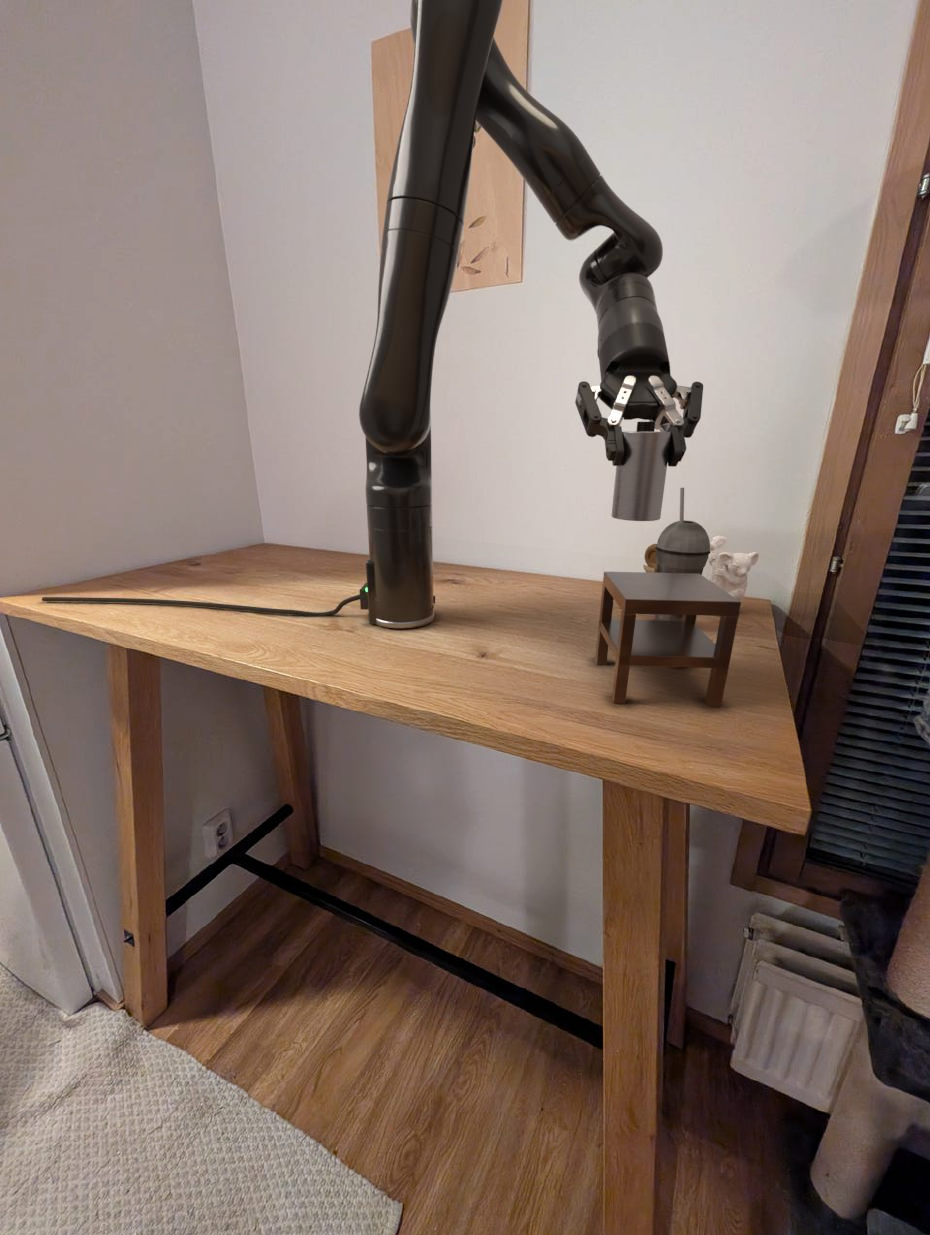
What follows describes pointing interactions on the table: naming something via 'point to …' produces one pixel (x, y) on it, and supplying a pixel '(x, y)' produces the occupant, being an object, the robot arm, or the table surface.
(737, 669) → the table surface
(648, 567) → the snail figurine
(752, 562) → the koala figurine
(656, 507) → the silver metal canister
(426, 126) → the robot arm
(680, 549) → the beverage cup
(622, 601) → the stand
